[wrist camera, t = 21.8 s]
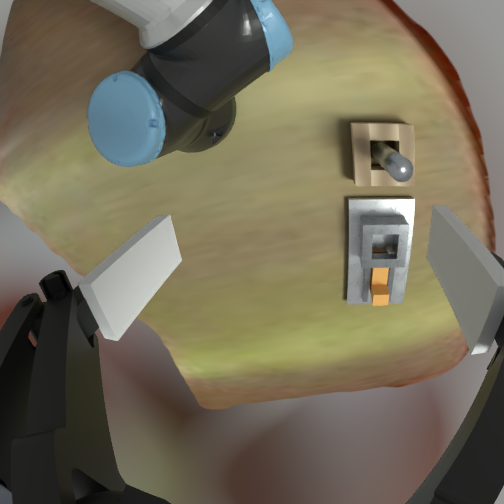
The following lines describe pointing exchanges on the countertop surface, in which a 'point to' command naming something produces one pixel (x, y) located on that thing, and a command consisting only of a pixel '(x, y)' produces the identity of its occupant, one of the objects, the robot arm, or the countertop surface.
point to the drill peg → (393, 162)
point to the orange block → (379, 285)
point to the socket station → (379, 244)
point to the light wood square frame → (362, 156)
